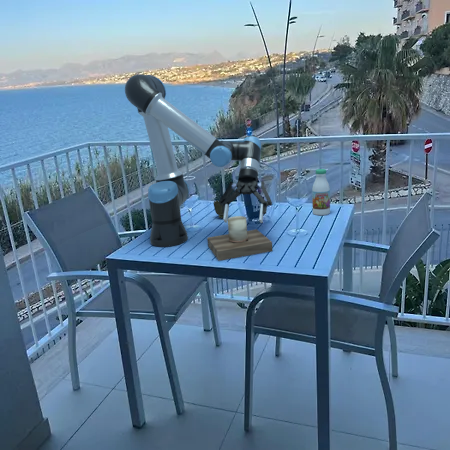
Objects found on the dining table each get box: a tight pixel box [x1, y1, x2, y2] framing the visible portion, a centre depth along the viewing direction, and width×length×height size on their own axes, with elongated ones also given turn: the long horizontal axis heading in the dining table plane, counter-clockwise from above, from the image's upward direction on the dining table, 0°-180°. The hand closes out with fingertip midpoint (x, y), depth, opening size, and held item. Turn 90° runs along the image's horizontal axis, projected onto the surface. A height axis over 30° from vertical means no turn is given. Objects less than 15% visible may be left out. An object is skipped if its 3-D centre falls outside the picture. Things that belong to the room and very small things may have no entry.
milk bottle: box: [311, 168, 331, 216], centre depth 182 cm, size 8×8×20 cm
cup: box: [213, 199, 230, 219], centre depth 190 cm, size 8×7×8 cm
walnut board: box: [206, 229, 273, 262], centre depth 150 cm, size 16×20×4 cm
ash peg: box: [227, 215, 248, 243], centre depth 149 cm, size 7×7×11 cm
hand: (242, 221), depth 150 cm, fingers open, 13 cm apart
